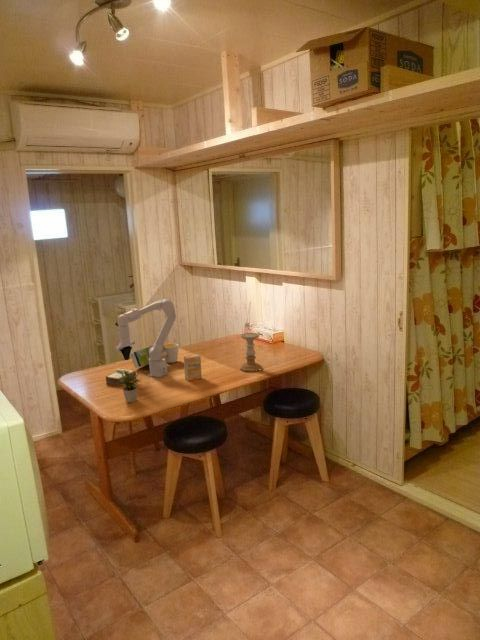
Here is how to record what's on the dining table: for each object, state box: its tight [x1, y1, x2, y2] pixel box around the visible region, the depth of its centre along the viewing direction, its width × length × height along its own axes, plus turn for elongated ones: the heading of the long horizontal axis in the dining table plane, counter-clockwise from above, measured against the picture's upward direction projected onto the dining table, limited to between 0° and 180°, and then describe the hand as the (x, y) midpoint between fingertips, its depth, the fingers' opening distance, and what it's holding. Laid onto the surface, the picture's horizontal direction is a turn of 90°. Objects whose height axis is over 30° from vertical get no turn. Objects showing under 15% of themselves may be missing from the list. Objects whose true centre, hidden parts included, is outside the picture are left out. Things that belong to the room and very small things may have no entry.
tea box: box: [130, 344, 168, 369], centre depth 283 cm, size 15×10×15 cm
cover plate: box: [107, 368, 135, 379], centre depth 261 cm, size 13×8×2 cm, turn 154°
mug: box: [164, 342, 180, 364], centre depth 293 cm, size 14×10×10 cm
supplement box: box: [183, 353, 203, 382], centre depth 260 cm, size 8×5×13 cm, turn 118°
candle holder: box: [240, 332, 263, 372], centre depth 272 cm, size 12×12×20 cm
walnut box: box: [105, 370, 137, 387], centre depth 262 cm, size 13×10×4 cm
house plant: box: [115, 369, 143, 403], centre depth 234 cm, size 14×14×16 cm
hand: (126, 359), depth 266 cm, fingers closed
